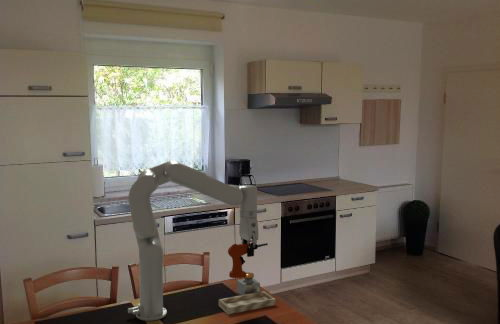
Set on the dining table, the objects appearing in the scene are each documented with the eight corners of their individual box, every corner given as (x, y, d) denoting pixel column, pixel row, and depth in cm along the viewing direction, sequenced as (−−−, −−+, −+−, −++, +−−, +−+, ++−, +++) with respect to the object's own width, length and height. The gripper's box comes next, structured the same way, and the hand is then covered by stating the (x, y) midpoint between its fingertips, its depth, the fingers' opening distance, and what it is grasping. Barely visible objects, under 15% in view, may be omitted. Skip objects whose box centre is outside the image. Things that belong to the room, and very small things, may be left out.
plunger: (245, 295, 212) (246, 276, 211) (241, 292, 216) (241, 273, 215) (255, 294, 214) (255, 275, 213) (250, 290, 218) (250, 271, 217)
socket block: (244, 298, 210) (244, 285, 209) (237, 292, 217) (237, 280, 216) (259, 295, 213) (260, 283, 213) (251, 289, 220) (252, 277, 220)
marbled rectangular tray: (227, 314, 192) (228, 308, 192) (218, 305, 201) (218, 299, 201) (275, 304, 203) (275, 298, 202) (264, 296, 212) (264, 291, 211)
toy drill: (272, 271, 201) (268, 239, 199) (231, 280, 196) (227, 247, 194) (268, 268, 206) (265, 236, 203) (228, 276, 201) (224, 244, 199)
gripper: (265, 216, 192) (264, 259, 194) (247, 209, 207) (246, 248, 209) (249, 218, 189) (249, 261, 191) (232, 210, 204) (232, 250, 205)
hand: (247, 254), depth 200 cm, fingers closed on toy drill, 4 cm apart
